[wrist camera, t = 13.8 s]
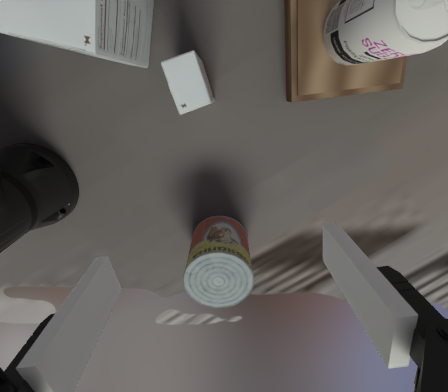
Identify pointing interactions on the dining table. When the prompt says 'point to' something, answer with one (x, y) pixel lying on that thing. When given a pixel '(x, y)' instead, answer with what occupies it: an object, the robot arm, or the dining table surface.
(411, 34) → the supplement can
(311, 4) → the tray
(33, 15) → the supplement box
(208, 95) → the skincare box
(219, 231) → the canned food
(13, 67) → the dining table surface
